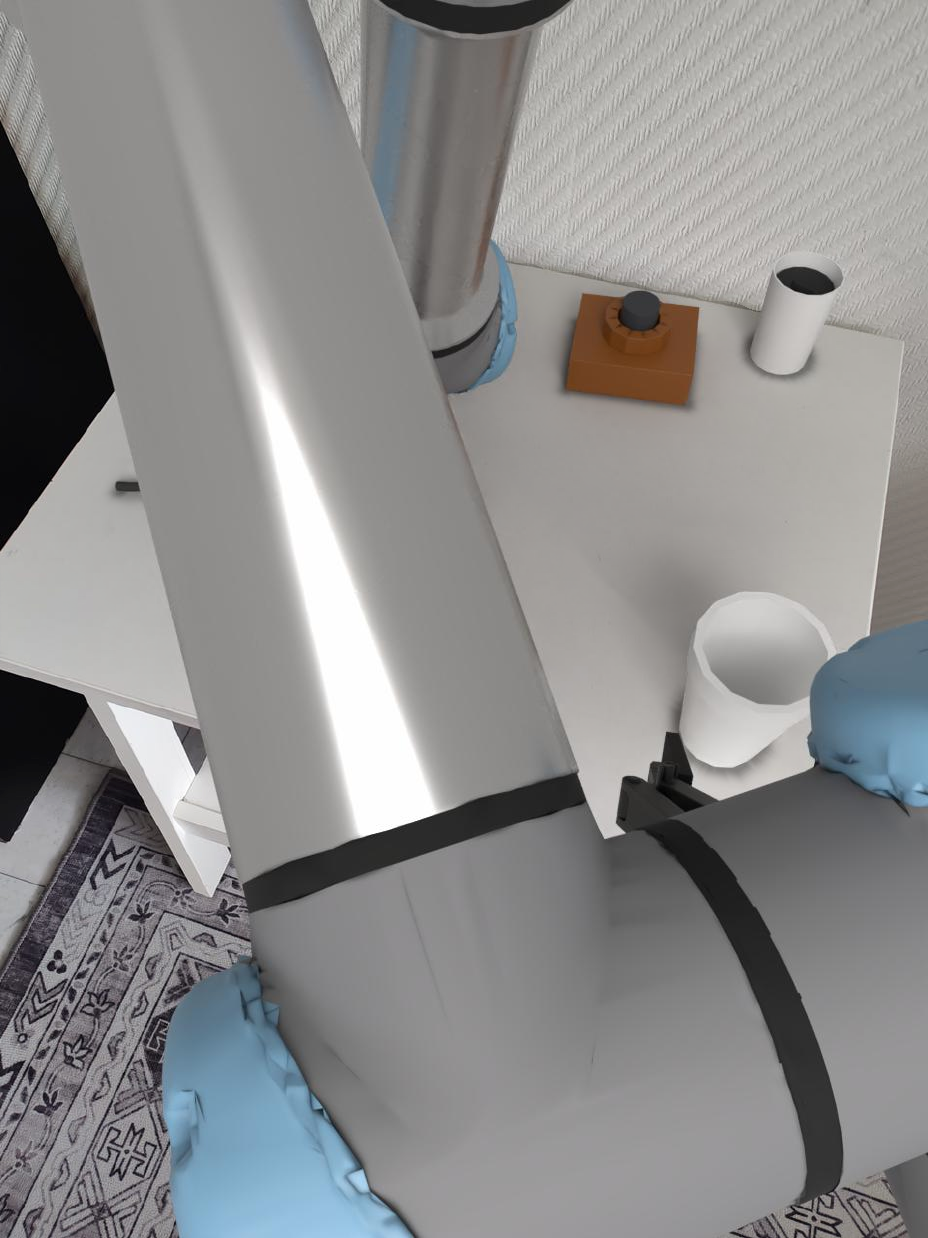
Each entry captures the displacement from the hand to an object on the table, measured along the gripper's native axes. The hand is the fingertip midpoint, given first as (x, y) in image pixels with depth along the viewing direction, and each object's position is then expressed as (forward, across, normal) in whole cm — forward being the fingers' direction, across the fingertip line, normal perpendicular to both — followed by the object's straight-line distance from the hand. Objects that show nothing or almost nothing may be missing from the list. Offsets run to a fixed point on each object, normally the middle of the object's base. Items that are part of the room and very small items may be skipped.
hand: (786, 769), depth 51 cm
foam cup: (+18, 0, -4) cm, 19 cm away
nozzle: (+42, -10, +29) cm, 52 cm away
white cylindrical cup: (+49, +5, +27) cm, 56 cm away
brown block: (+46, -10, +25) cm, 53 cm away
